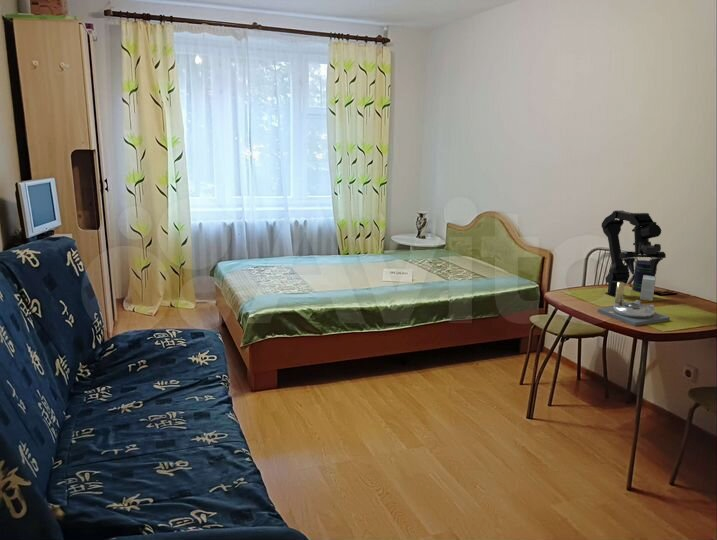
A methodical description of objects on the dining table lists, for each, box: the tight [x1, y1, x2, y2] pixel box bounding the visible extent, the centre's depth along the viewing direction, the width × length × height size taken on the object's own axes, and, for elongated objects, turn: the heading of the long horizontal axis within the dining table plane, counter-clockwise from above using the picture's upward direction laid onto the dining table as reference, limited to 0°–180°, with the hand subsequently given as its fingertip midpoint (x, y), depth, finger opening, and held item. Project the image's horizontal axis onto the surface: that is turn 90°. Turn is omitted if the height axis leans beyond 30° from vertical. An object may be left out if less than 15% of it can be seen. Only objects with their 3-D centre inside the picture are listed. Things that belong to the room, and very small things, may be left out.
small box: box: [639, 275, 657, 302], centre depth 256 cm, size 8×6×10 cm
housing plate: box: [597, 306, 671, 327], centre depth 230 cm, size 20×20×2 cm
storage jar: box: [632, 259, 658, 293], centre depth 269 cm, size 10×10×15 cm
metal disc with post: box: [612, 282, 656, 318], centre depth 229 cm, size 16×16×12 cm
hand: (642, 274), depth 239 cm, fingers open, 9 cm apart
